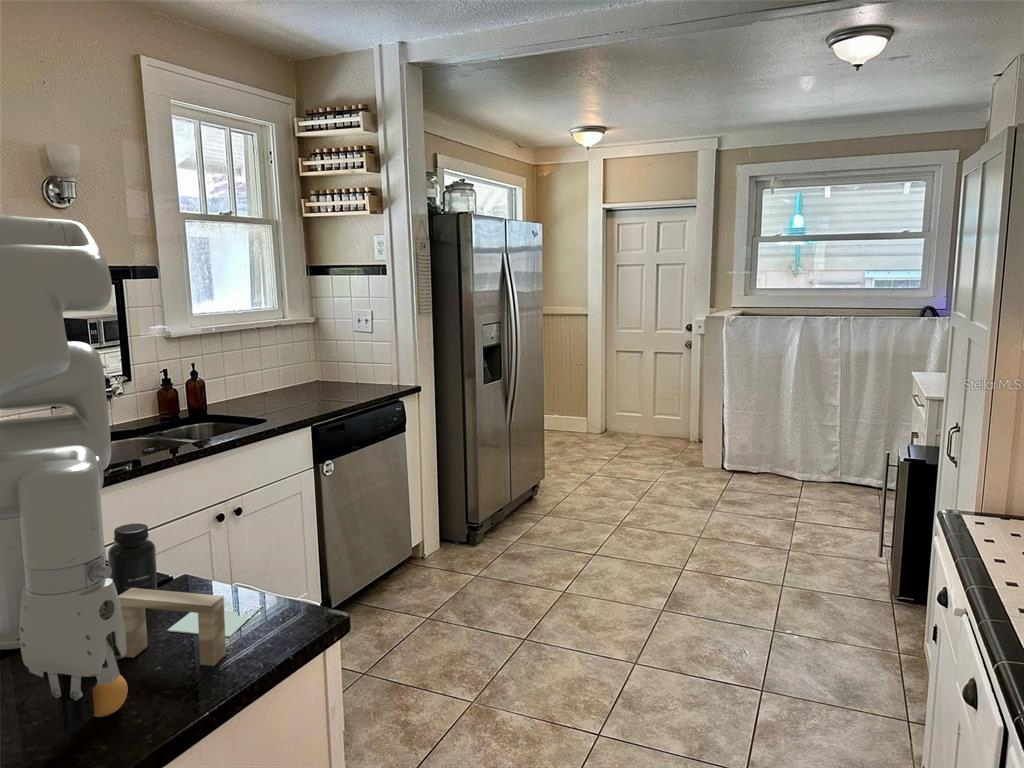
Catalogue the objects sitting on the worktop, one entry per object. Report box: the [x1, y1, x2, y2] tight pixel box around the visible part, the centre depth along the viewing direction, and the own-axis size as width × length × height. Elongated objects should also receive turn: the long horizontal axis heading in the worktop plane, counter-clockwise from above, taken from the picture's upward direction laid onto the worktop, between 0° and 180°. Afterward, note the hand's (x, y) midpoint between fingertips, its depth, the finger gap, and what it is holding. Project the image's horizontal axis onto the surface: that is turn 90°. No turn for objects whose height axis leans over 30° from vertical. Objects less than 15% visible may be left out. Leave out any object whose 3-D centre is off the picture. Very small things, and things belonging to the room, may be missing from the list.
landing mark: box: [166, 601, 264, 638], centre depth 108 cm, size 10×10×1 cm
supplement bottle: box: [107, 523, 158, 596], centre depth 113 cm, size 7×7×12 cm
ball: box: [93, 674, 129, 718], centre depth 84 cm, size 5×5×5 cm
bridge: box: [118, 588, 227, 667], centre depth 97 cm, size 3×14×9 cm, turn 82°
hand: (77, 723), depth 80 cm, fingers closed
